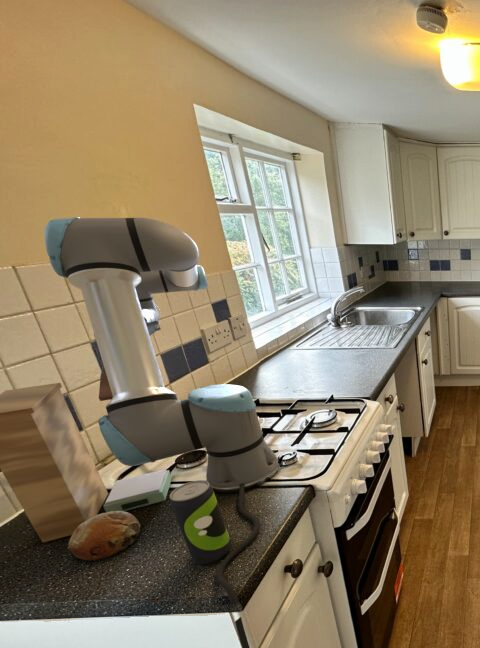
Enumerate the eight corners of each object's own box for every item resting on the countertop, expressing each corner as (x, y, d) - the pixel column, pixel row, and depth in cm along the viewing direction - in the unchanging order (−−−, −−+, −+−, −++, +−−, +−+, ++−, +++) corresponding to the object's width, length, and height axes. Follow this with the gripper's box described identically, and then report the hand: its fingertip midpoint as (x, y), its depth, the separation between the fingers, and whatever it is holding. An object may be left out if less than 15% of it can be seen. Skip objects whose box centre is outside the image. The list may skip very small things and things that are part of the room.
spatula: (134, 395, 96) (131, 390, 94) (100, 401, 93) (96, 395, 91) (136, 331, 107) (133, 325, 105) (105, 334, 104) (102, 328, 102)
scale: (165, 501, 93) (160, 490, 92) (106, 516, 89) (101, 505, 87) (172, 478, 101) (168, 467, 100) (119, 490, 97) (114, 480, 96)
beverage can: (200, 546, 81) (175, 483, 75) (236, 538, 82) (215, 476, 77) (188, 570, 75) (161, 504, 69) (227, 561, 77) (204, 496, 71)
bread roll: (139, 535, 88) (119, 503, 87) (154, 533, 83) (133, 499, 81) (78, 568, 80) (54, 533, 79) (90, 568, 74) (65, 531, 73)
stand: (92, 529, 85) (31, 407, 74) (38, 543, 81) (-34, 418, 70) (111, 492, 96) (60, 382, 85) (64, 504, 92) (5, 390, 82)
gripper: (173, 331, 122) (159, 353, 104) (104, 339, 115) (75, 363, 96) (165, 306, 119) (149, 324, 101) (93, 312, 112) (61, 332, 93)
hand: (113, 343), depth 98 cm, fingers closed on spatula, 2 cm apart
